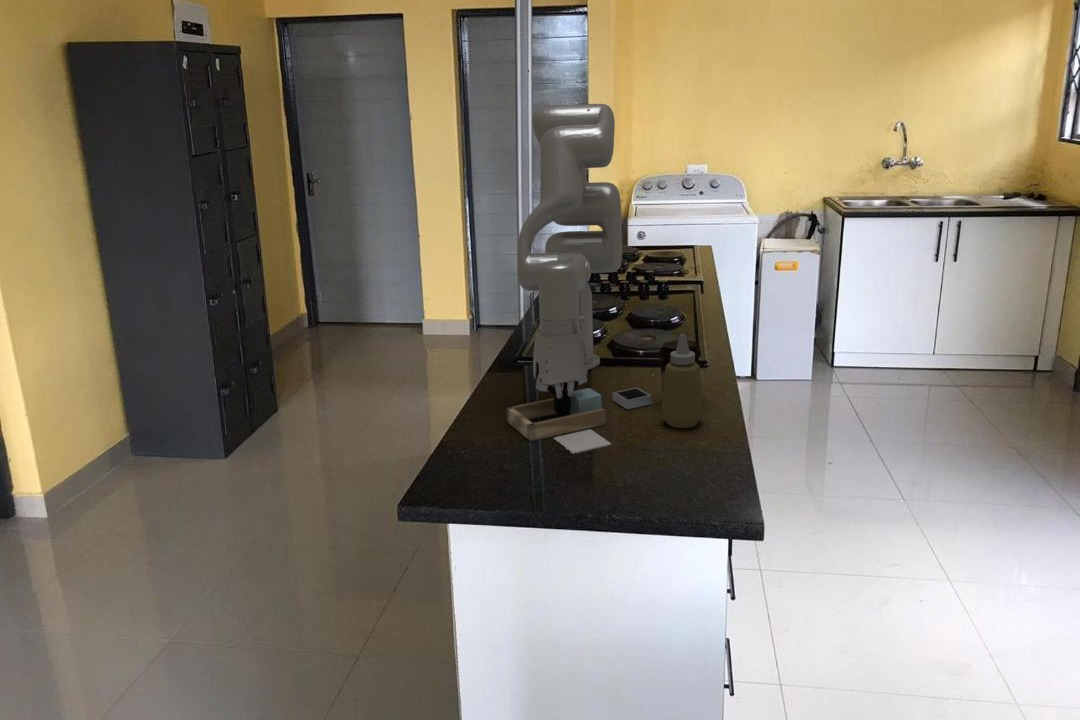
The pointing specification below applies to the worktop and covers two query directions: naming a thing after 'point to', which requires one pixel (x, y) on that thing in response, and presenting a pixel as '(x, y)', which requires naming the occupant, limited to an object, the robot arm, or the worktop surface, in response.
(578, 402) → the blue block
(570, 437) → the mat
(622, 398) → the tray
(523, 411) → the cubby
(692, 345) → the coffee cup
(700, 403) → the squeeze bottle
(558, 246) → the robot arm
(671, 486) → the worktop surface
